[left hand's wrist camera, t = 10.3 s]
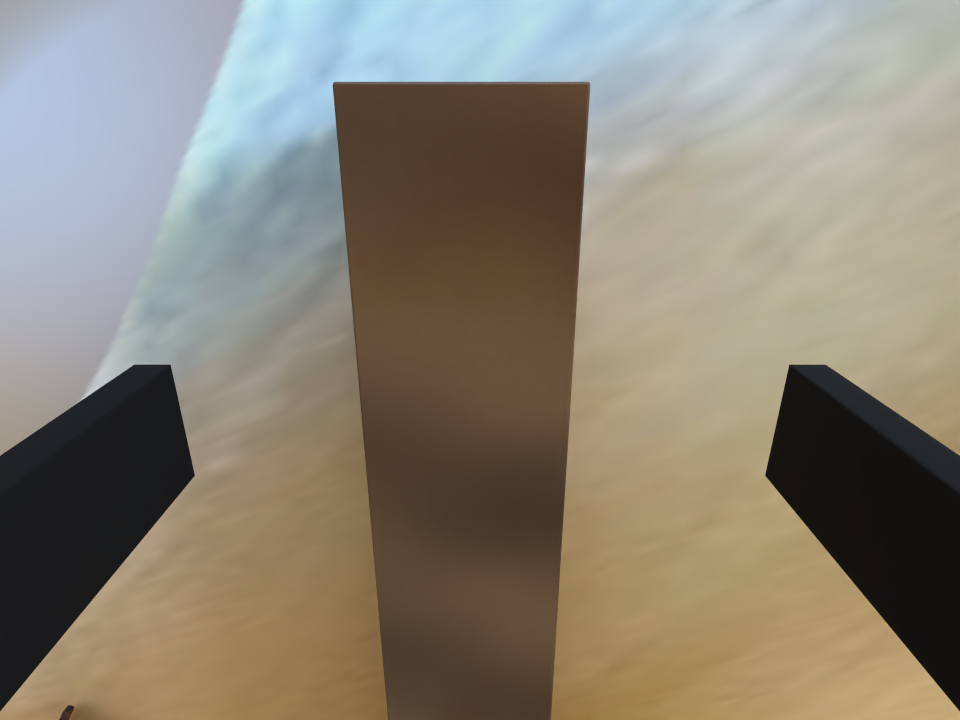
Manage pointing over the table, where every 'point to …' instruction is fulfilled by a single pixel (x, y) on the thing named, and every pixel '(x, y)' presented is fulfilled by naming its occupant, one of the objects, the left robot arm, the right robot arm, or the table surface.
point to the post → (465, 376)
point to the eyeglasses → (67, 713)
